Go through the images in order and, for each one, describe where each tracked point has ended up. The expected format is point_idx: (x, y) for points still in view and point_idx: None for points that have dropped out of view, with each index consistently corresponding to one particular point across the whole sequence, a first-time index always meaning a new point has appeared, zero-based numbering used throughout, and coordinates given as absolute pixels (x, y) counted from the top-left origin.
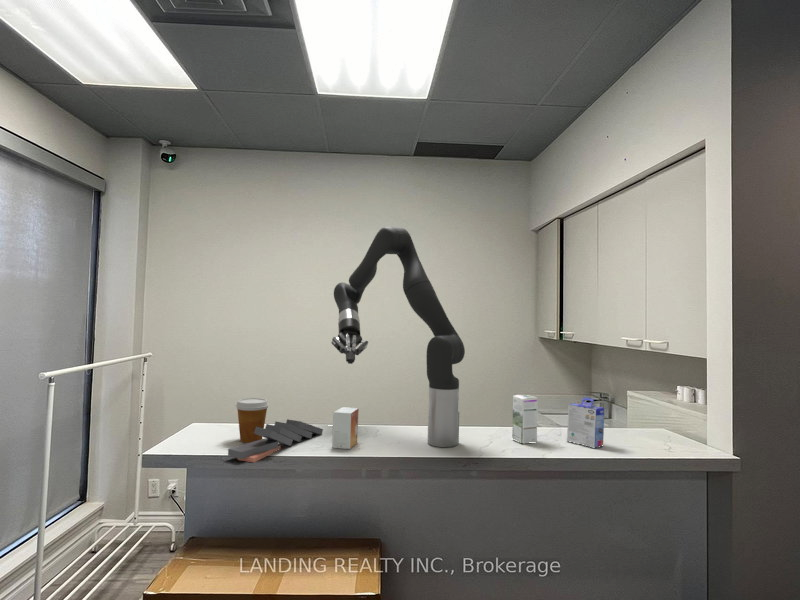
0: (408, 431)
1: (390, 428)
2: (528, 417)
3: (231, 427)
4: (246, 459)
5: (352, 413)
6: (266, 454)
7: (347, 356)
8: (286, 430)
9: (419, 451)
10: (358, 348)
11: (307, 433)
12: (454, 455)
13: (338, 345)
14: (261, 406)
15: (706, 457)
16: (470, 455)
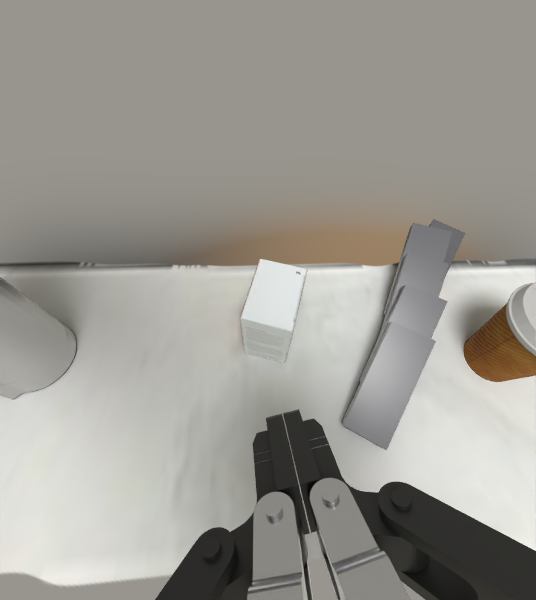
0: (79, 486)
1: (129, 529)
2: None
3: None
4: None
5: (256, 268)
6: None
7: (320, 438)
8: (400, 275)
9: (118, 297)
10: (214, 555)
11: (369, 361)
12: (57, 277)
13: (483, 533)
14: (515, 295)
15: None
16: (24, 278)
